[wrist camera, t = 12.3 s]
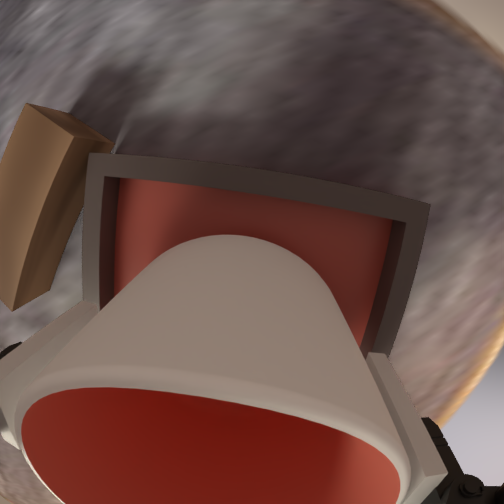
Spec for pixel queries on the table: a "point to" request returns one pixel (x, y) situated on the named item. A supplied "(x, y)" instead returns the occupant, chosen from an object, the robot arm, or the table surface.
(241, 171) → the tray
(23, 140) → the box
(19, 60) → the table surface
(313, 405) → the cup
